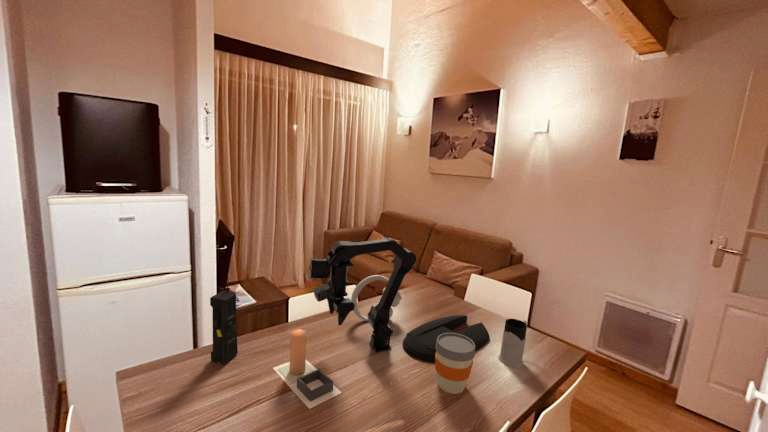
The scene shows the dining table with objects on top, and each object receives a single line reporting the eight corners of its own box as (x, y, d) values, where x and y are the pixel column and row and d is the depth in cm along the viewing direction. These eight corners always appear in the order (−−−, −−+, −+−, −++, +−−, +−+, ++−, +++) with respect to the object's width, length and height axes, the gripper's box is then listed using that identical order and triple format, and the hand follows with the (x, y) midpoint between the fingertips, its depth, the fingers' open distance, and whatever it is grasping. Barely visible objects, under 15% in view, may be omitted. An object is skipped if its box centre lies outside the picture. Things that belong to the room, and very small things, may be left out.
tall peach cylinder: (304, 365, 113) (306, 328, 111) (305, 374, 109) (307, 336, 106) (289, 366, 112) (290, 330, 110) (289, 376, 107) (290, 337, 105)
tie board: (341, 395, 102) (342, 383, 101) (309, 412, 95) (309, 399, 94) (302, 359, 119) (303, 348, 118) (272, 370, 111) (272, 359, 110)
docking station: (387, 341, 135) (388, 329, 134) (451, 316, 162) (452, 306, 161) (435, 374, 117) (436, 360, 116) (498, 339, 143) (500, 328, 142)
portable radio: (224, 366, 111) (224, 294, 107) (208, 363, 112) (207, 291, 108) (239, 353, 119) (239, 285, 115) (223, 350, 120) (223, 283, 116)
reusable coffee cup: (443, 367, 120) (448, 328, 118) (476, 384, 112) (482, 342, 110) (424, 384, 110) (428, 341, 108) (459, 403, 103) (465, 358, 100)
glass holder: (494, 359, 128) (499, 322, 125) (510, 346, 138) (516, 312, 135) (516, 370, 122) (523, 331, 119) (532, 356, 132) (538, 320, 129)
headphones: (386, 333, 149) (344, 314, 141) (380, 323, 157) (340, 305, 149) (410, 292, 149) (370, 271, 141) (403, 285, 157) (364, 264, 149)
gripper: (309, 270, 124) (306, 310, 126) (324, 289, 107) (321, 335, 110) (338, 268, 129) (335, 307, 131) (356, 286, 113) (353, 330, 115)
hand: (335, 319), depth 122 cm, fingers open, 9 cm apart
